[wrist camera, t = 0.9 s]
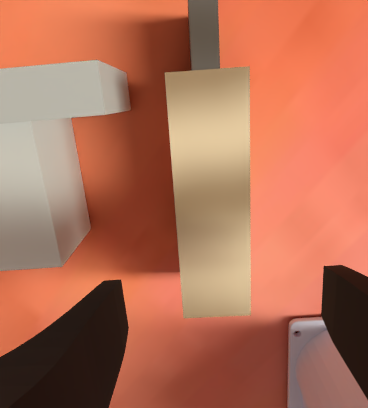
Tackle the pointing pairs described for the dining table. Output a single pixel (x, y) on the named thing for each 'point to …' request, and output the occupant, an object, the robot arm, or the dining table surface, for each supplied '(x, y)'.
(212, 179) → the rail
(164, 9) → the dining table surface
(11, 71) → the grey stepped block
